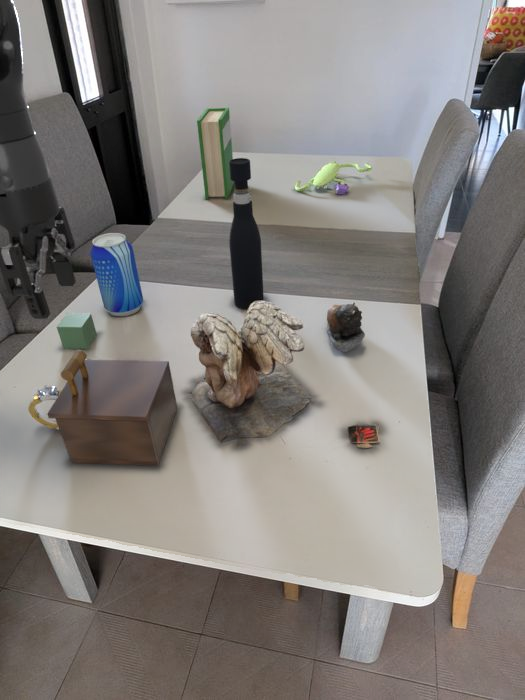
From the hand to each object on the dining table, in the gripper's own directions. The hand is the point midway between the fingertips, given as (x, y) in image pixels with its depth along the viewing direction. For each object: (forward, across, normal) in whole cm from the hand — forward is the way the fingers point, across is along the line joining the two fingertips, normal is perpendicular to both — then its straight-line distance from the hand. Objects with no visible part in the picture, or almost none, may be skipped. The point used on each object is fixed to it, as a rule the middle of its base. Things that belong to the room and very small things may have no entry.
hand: (55, 300), depth 69 cm
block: (+23, -24, -12) cm, 35 cm away
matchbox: (+24, +1, +42) cm, 48 cm away
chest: (+23, +1, +6) cm, 24 cm away
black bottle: (+23, -40, +20) cm, 50 cm away
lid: (+14, +1, +5) cm, 15 cm away
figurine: (+24, -119, +41) cm, 128 cm away
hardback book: (+23, -114, +2) cm, 117 cm away
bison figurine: (+24, -25, +40) cm, 53 cm away
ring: (+23, 0, -6) cm, 24 cm away
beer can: (+23, -37, -7) cm, 44 cm away
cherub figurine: (+24, -8, +24) cm, 34 cm away
